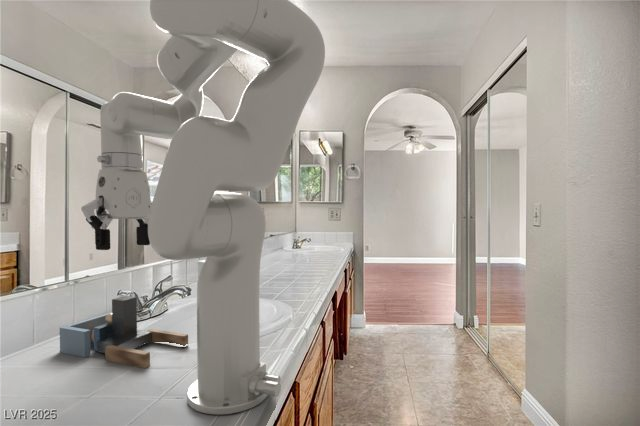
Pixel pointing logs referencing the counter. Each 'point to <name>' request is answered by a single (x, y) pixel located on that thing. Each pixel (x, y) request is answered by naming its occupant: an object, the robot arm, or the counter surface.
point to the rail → (139, 356)
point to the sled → (121, 327)
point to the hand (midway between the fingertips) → (124, 247)
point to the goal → (79, 336)
